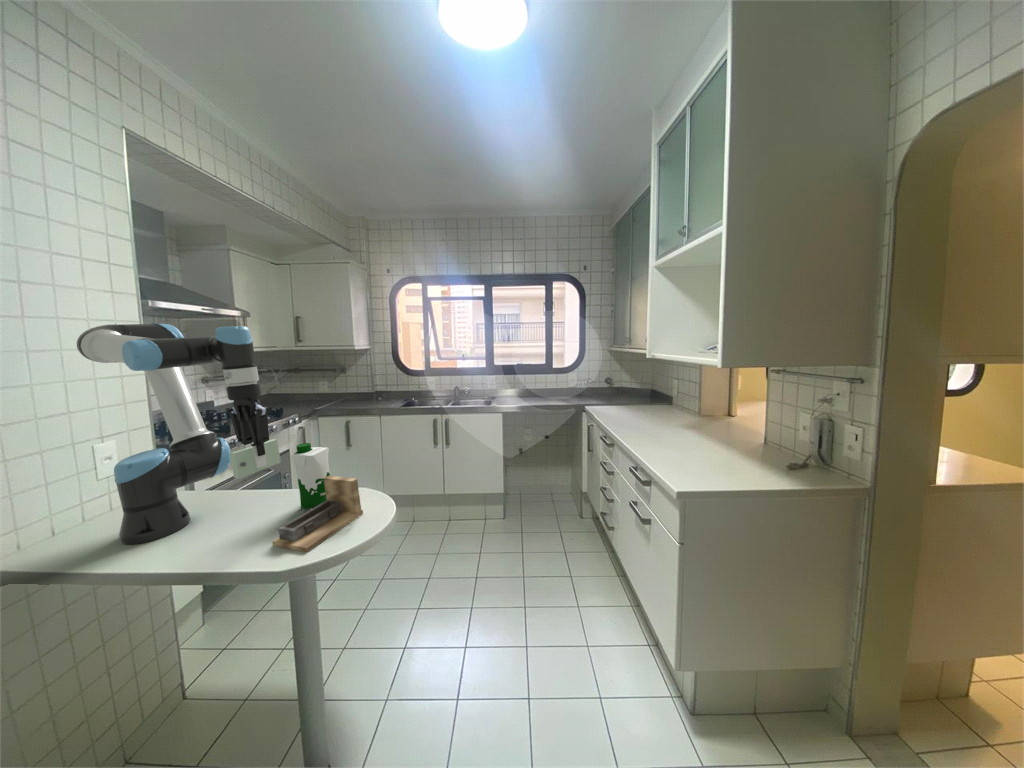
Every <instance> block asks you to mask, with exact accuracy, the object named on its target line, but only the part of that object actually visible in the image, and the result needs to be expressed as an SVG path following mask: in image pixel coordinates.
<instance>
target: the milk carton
mask: <svg viewBox="0 0 1024 768" xmlns="http://www.w3.org/2000/svg"><path fill="white" fill-rule="evenodd" d="M329 451H330V450H329V447H322V446H316V447H315V446H313V447H312V444H311V443H310V442H304V443H299V444H297V445H296V452H294V453H292V454H290V457H291V459H292V461H293V464H294V467H295V470H296V471H295V473H296V478H297V483H298V484H297V485H298V489H299V491H298V492H299V499H300V508H301V509H309V510H311V509H313V508H314V507H316V506H318V505H320V504H321V503H323V502H325V501H327V498H326V491H325V485H324V478H325V477H327V476H331V474H330V467H329Z"/></svg>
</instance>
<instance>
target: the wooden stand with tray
mask: <svg viewBox="0 0 1024 768" xmlns="http://www.w3.org/2000/svg"><path fill="white" fill-rule="evenodd" d="M324 485H325V491H326V498H327V501H325V502H323V503H321V504H320V505H318V506H316V507H314V508H313V509H309V510H307V511H306V512H304V513H302V514H300V515H299V516H297V517H295V518H293V519H292V520H290V521H288V522H287V523H284V524H283V525H281V526H280V527H277V531H278V537H277V538H276V539H274V540H272V542H271V543H272V546H274V547H279V548H283V549H288V550H294V551H298V552H303V553H308V552H310V551H311V550H313V549H314V548H315V547H317V546H319V545H320V544H321V543H323V542H324V541H326V540H327V539H329V538H331V536H333V535H335V534H336V533H338V532H339V531H340V530H341V529H344V528H345V527H346V526H348V525H349V524H350V523H352V522H353V521H355V520H356V519H358V518H359V517H361V516H362V515H364V509H362V505H361V498H360V491H359V490H360V489H359V483H358V478H355V477H345V476H336V475H335V476H334V475H330V476H327V477H325V478H324Z"/></svg>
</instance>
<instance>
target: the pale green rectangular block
mask: <svg viewBox="0 0 1024 768" xmlns="http://www.w3.org/2000/svg"><path fill="white" fill-rule="evenodd" d="M278 443H279V442H278V439H273V438H271V439H269V441H266V442H265V443H264V448H265V456H266V462H267V465H266V466H263V467H260V468H256V466H255V461H254V456H253V450H252V446H250V447H247V448H245V447H244V448H241V449H238V450H235V451H231V453H229V454H230V459H231V461H230V465H231V467H232V474H233V478H234V479H238V480H239V479H243V478H245V477H247V476H250V475H252V474H255V473H257V472H260V471H262V470H265V469H269V468H270V467H272V466H276V465H277V464H280V463H282V459H281V455H280V449H279V444H278Z"/></svg>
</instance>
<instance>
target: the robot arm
mask: <svg viewBox="0 0 1024 768" xmlns="http://www.w3.org/2000/svg"><path fill="white" fill-rule="evenodd" d="M251 334H252V333H251V331H250V329H249V327H247V326H245V325H244V326H243V325H237V326H236V325H235V326H218V327H216V329H215V335H210V336H193V337H184V335H183V334H182V332H181V331H180V330H179V329H178V328H177V327H176V326H174V325H172V324H170V323H169V324H168V323H156V322H154V323H140V324H139V323H134V324H132V323H131V324H130V323H129V324H128V323H127V324H103V325H99V326H95V327H91V328H89V329H87V330H84V332H82V333H81V334H80V335H79V337H78V338H77V339H76V348H77V351H78V352H79V354H80V355H81V356H82V357H84V358H85V359H87V360H90V361H92V362H95V363H103V364H109V363H110V364H112V363H117V364H118V363H121V364H122V363H123V364H125V365H126V367H128V368H129V370H130V371H134V372H139V371H140V372H141V371H143V372H145V374H146V377H147V379H148V381H149V383H150V386H151V388H152V390H153V393H154V397H155V398H156V400H157V403H158V405H159V408H160V411H161V413H162V416H163V418H164V420H165V422H166V425H167V428H168V430H169V432H170V435H171V438H172V442H171V443H170V444H169V450H168V449H167V448H163V447H160V448H159V447H158V448H153V449H151V450H150V449H149V450H145V451H141V452H138V453H136V454H132V455H130V456H127V457H126V458H123V459H121V460H120V461H118V462H117V463H116V464H115V465H114V468H113V472H114V473H113V476H114V483H115V485H116V489H117V492H118V493H117V494H118V497H119V500H120V504H121V507H122V512H123V514H122V520H121V525H120V529H119V539H120V543H122V544H123V545H138V544H143V543H147V542H151V541H155V540H158V539H161V538H165V537H166V536H169V535H172V534H173V533H175V532H178V531H180V530H182V529H183V528H185V527H186V526H187V525H188V524H190V522H191V517H190V513H189V511H188V509H187V508H186V507H185V506H184V504H183V503H182V501H181V500H180V499H179V497H178V493H177V492H178V491H177V489H180V488H182V487H185V486H189V485H192V484H195V483H198V482H200V481H204V480H206V479H211V478H214V477H216V476H218V475H221V474H223V473H225V472H226V471H228V469H229V467H230V465H231V459H230V454H229V453H231V452H232V450H231V447H230V445H229V443H228V441H227V440H226V439H225V438H223V437H217V436H216V434H215V431H210V430H208V428H207V427H206V424H205V422H204V419H203V417H202V415H201V412H200V410H199V408H198V405H197V402H196V401H195V398H194V395H193V393H192V391H191V388H190V386H189V384H188V380H187V378H186V376H185V373H184V371H183V369H182V367H185V368H186V367H193V366H203V365H213V364H214V365H215V364H221V370H222V371H223V379H224V383H225V384H226V385H227V386H226V388H225V389H226V395H227V399H228V400H229V401H233V404H232V405H233V406H232V407H229V408H226V409H227V413H228V415H229V417H230V419H231V424H232V427H233V431H234V433H235V436H236V441H237V442H238V443H242V445H243V446H244V448H247V447H250V446H252V450H253V456H254V461H255V466H256V468H260V467H263V466H266V465H267V462H266V456H265V448H264V443H265V442H266V441H269V440H270V432H269V430H270V429H269V420H268V415H269V414H268V413H269V407H268V406H264V407H263V406H262V405H261V402H260V400H259V397H260V396H262V389H261V388H262V387H261V383H259V382H258V381H259V380H260V376H259V372H258V366H257V362H256V355H255V349H254V343H253V339H252V335H251Z"/></svg>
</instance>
